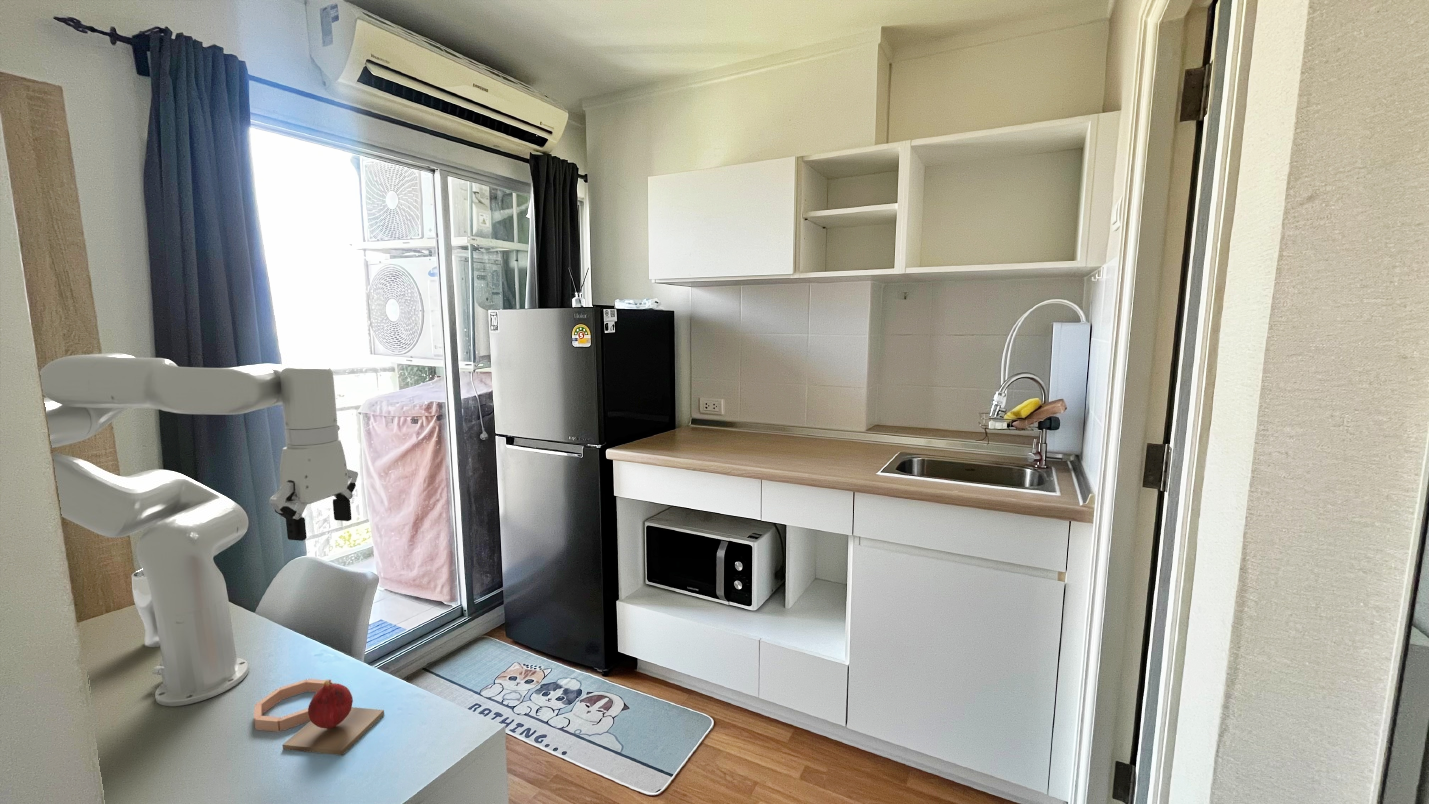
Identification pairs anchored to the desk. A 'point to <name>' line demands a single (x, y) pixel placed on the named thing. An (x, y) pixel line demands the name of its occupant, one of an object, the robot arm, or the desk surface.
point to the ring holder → (276, 696)
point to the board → (334, 733)
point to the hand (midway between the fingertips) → (321, 529)
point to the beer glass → (145, 607)
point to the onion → (330, 705)
